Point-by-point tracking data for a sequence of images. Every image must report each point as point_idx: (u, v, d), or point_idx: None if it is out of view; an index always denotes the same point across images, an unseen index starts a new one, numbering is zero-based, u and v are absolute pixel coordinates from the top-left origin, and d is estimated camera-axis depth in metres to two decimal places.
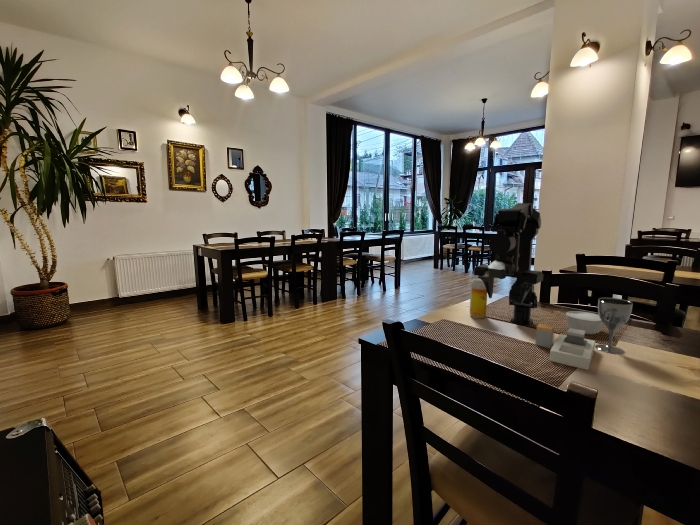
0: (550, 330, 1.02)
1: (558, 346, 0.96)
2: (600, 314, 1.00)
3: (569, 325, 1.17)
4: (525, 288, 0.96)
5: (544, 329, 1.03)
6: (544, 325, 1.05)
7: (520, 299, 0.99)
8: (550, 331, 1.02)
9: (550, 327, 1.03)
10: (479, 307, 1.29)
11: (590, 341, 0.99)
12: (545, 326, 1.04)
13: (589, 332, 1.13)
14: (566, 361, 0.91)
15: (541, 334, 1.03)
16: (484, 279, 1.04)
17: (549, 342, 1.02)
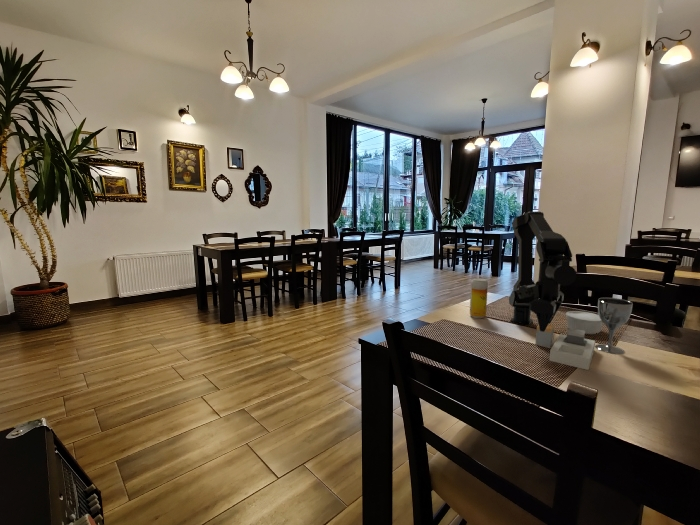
0: (550, 330, 1.02)
1: (558, 346, 0.96)
2: (600, 314, 1.00)
3: (569, 325, 1.17)
4: None
5: None
6: None
7: None
8: (550, 331, 1.02)
9: (550, 327, 1.03)
10: (479, 307, 1.29)
11: (590, 341, 0.99)
12: None
13: (589, 332, 1.13)
14: (566, 361, 0.91)
15: (541, 334, 1.03)
16: None
17: (549, 342, 1.02)
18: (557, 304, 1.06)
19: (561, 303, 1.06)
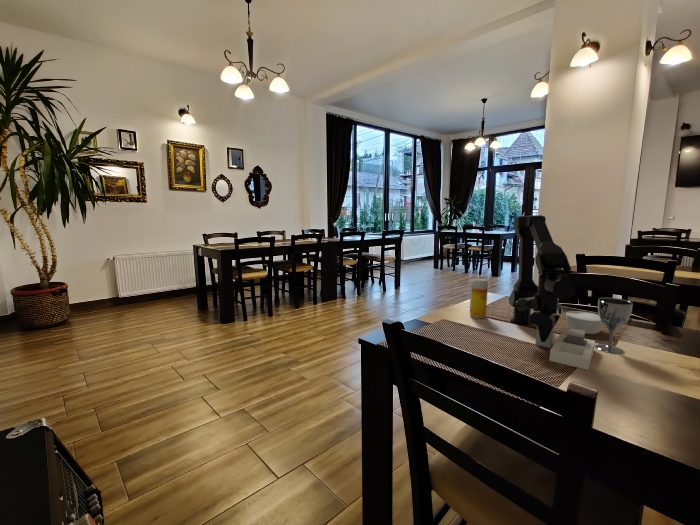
0: None
1: (558, 346, 0.96)
2: (600, 314, 1.00)
3: (569, 325, 1.17)
4: None
5: None
6: None
7: None
8: None
9: None
10: (479, 307, 1.29)
11: (590, 341, 0.99)
12: None
13: (589, 332, 1.13)
14: (566, 361, 0.91)
15: None
16: None
17: (549, 342, 1.02)
18: (555, 318, 1.04)
19: (559, 317, 1.04)
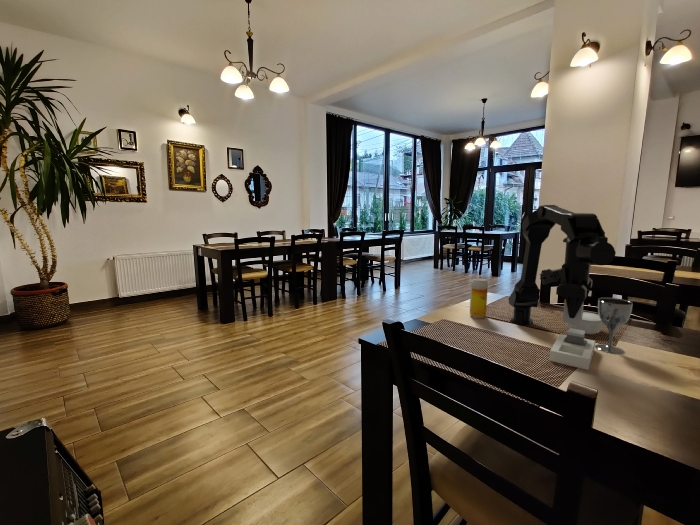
0: None
1: (558, 346, 0.96)
2: (600, 314, 1.00)
3: (569, 325, 1.17)
4: None
5: None
6: None
7: None
8: None
9: None
10: (479, 307, 1.29)
11: (590, 341, 0.99)
12: None
13: (589, 332, 1.13)
14: (566, 361, 0.91)
15: None
16: None
17: (579, 318, 0.90)
18: None
19: (589, 291, 0.92)
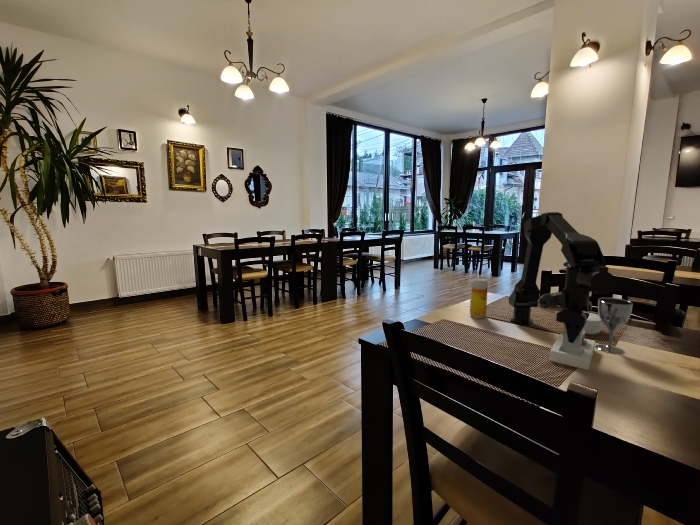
0: None
1: (558, 346, 0.96)
2: (600, 314, 1.00)
3: None
4: None
5: None
6: None
7: None
8: None
9: None
10: (479, 307, 1.29)
11: (590, 341, 0.99)
12: None
13: (589, 332, 1.13)
14: (566, 361, 0.91)
15: None
16: None
17: (578, 343, 0.90)
18: None
19: None
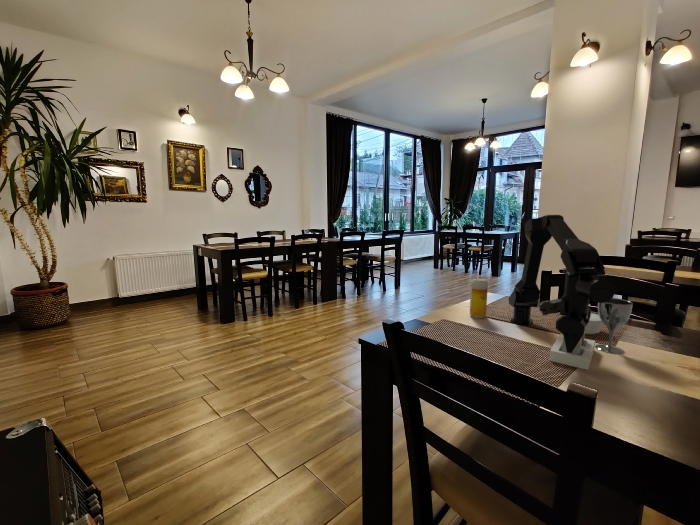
0: (579, 341, 0.90)
1: (558, 346, 0.96)
2: (600, 314, 1.00)
3: None
4: None
5: None
6: None
7: None
8: (579, 342, 0.90)
9: None
10: (479, 307, 1.29)
11: (590, 341, 0.99)
12: None
13: (589, 332, 1.13)
14: (566, 361, 0.91)
15: None
16: None
17: (577, 354, 0.91)
18: (584, 321, 0.95)
19: None
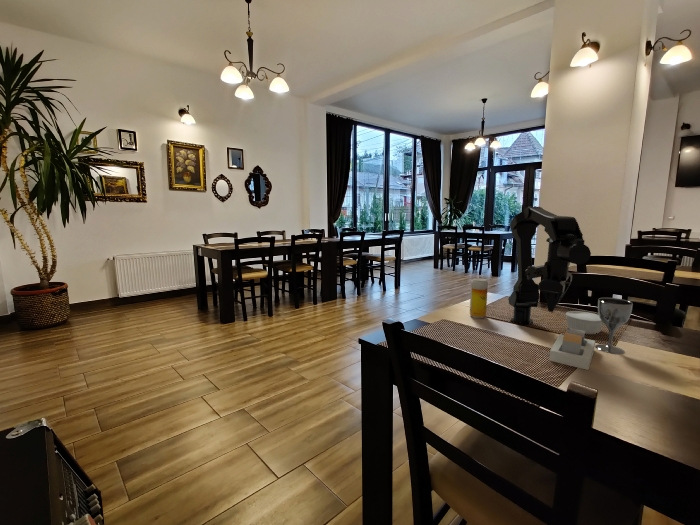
0: (579, 341, 0.90)
1: (558, 346, 0.96)
2: (600, 314, 1.00)
3: (569, 325, 1.17)
4: None
5: (572, 340, 0.91)
6: (571, 335, 0.94)
7: None
8: (579, 342, 0.90)
9: (578, 337, 0.92)
10: (479, 307, 1.29)
11: (590, 341, 0.99)
12: (572, 336, 0.93)
13: (589, 332, 1.13)
14: (566, 361, 0.91)
15: (568, 345, 0.92)
16: None
17: (577, 354, 0.91)
18: (565, 285, 1.05)
19: (569, 284, 1.05)
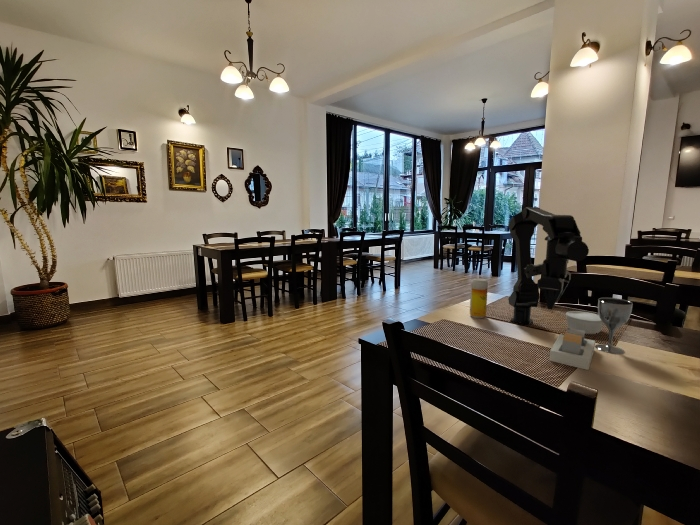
0: (579, 341, 0.90)
1: (558, 346, 0.96)
2: (600, 314, 1.00)
3: (569, 325, 1.17)
4: None
5: (572, 340, 0.91)
6: (571, 335, 0.94)
7: None
8: (579, 342, 0.90)
9: (578, 337, 0.92)
10: (479, 307, 1.29)
11: (590, 341, 0.99)
12: (572, 336, 0.93)
13: (589, 332, 1.13)
14: (566, 361, 0.91)
15: (568, 345, 0.92)
16: None
17: (577, 354, 0.91)
18: (564, 283, 1.06)
19: (568, 282, 1.06)
